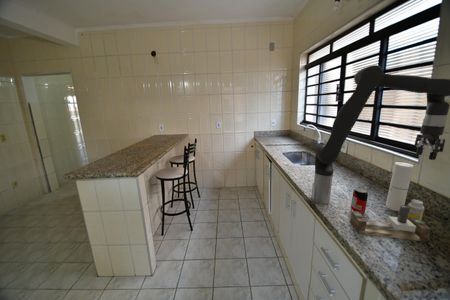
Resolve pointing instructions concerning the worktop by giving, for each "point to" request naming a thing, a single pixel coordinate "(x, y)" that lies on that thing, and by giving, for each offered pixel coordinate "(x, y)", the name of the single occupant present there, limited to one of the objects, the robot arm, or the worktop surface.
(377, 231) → the rail
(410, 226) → the carriage
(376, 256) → the worktop surface
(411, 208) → the supplement bottle
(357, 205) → the beverage can
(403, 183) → the cylindrical container
